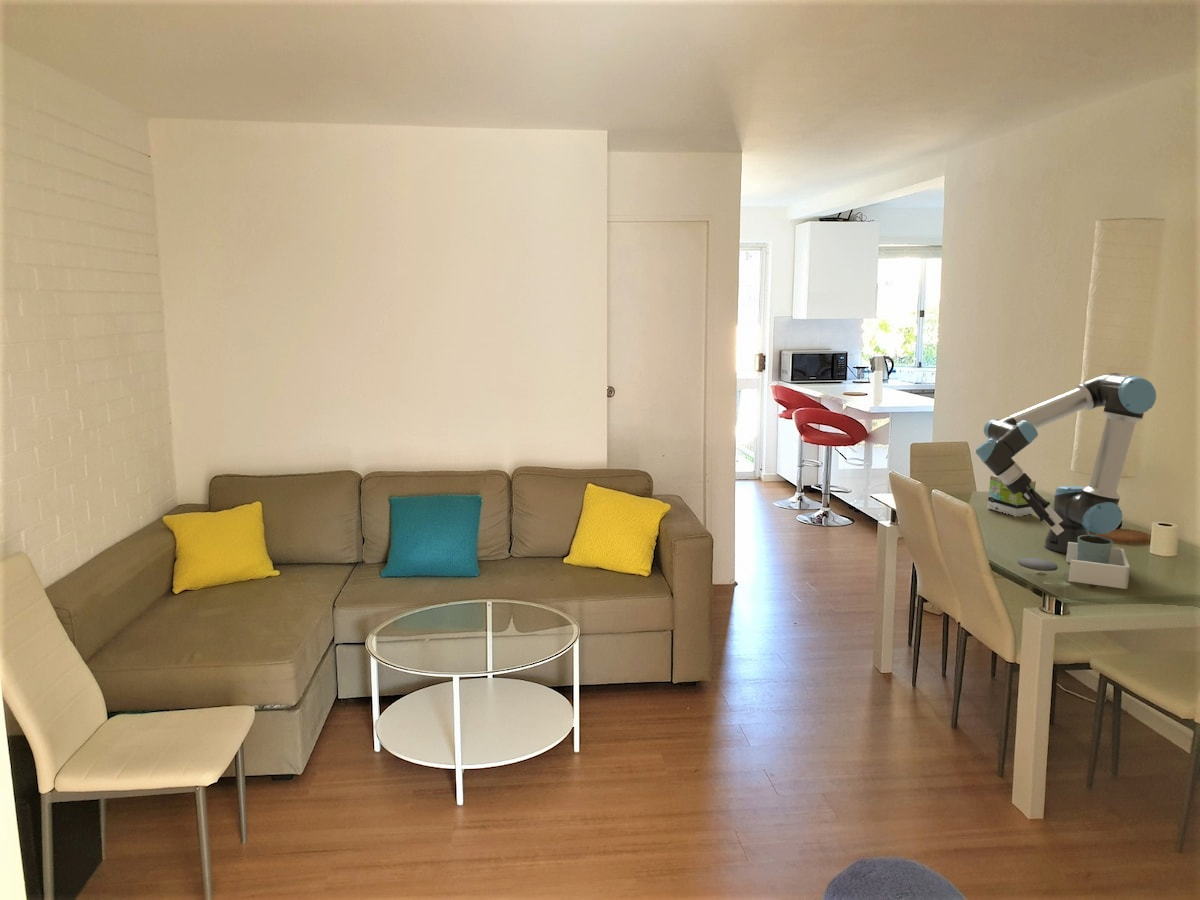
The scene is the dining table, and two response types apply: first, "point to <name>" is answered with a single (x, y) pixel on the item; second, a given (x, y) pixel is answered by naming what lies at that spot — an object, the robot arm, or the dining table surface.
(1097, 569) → the open-front crate
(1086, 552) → the blue plant pot
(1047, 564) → the coaster
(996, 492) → the tea box
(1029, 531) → the dining table surface
